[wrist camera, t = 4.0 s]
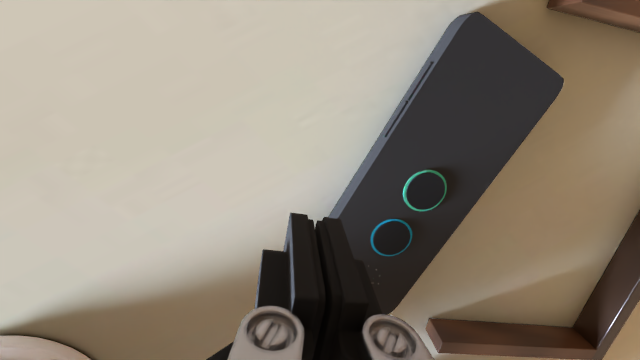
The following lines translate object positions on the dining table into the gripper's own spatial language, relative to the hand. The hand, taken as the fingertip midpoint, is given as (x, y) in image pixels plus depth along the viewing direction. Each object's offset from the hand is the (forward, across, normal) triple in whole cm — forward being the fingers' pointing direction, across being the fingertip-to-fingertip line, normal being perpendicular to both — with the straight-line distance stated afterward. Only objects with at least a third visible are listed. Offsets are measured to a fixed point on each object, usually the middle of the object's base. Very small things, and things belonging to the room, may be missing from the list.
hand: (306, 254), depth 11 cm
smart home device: (+12, -8, +1) cm, 14 cm away
